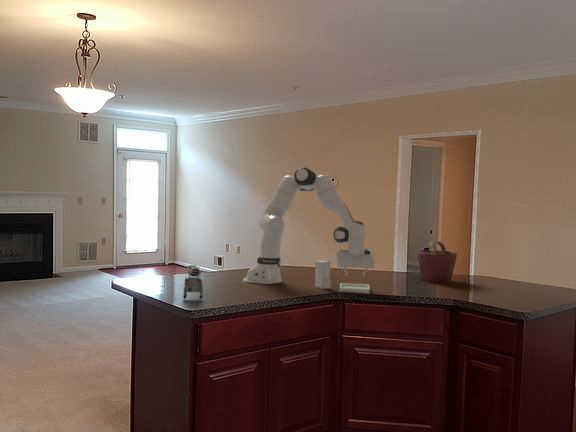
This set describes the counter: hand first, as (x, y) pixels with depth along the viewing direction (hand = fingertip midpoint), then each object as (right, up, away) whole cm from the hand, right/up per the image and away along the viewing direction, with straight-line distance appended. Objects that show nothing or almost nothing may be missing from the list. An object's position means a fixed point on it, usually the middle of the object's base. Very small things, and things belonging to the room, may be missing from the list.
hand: (355, 275), depth 288 cm
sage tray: (0, -8, 0) cm, 8 cm away
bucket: (+54, -8, +39) cm, 67 cm away
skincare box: (-18, -7, +5) cm, 20 cm away
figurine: (-82, -7, -34) cm, 89 cm away
